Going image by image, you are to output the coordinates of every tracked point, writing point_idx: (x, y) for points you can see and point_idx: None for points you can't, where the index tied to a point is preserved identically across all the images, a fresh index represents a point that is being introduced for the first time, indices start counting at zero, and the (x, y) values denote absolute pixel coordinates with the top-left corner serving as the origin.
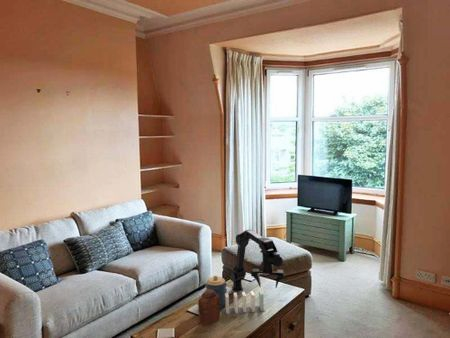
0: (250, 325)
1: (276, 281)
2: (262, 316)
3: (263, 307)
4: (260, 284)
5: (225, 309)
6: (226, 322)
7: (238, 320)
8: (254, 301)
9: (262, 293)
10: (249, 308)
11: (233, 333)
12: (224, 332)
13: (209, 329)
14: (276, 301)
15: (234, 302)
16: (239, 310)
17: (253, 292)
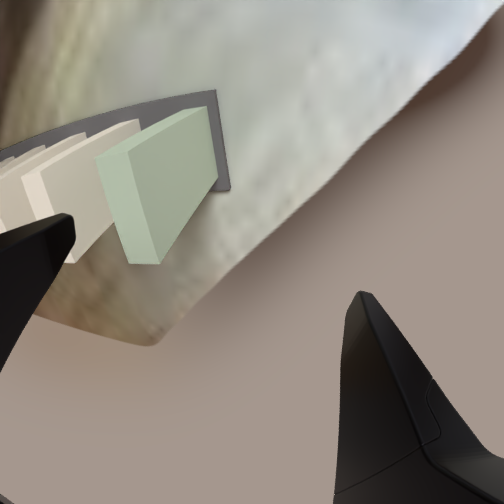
0: (147, 306)
1: (340, 489)
2: (208, 236)
3: (208, 190)
4: (48, 247)
5: (5, 158)
6: None
7: (84, 258)
8: (108, 224)
9: (146, 240)
10: None
11: (97, 334)
12: (68, 322)
13: None
14: (363, 11)
15: None
16: None
17: (49, 206)
